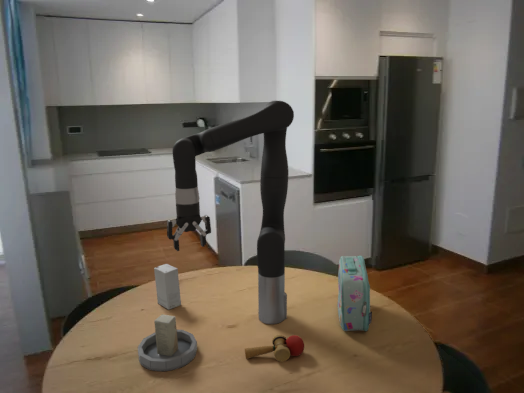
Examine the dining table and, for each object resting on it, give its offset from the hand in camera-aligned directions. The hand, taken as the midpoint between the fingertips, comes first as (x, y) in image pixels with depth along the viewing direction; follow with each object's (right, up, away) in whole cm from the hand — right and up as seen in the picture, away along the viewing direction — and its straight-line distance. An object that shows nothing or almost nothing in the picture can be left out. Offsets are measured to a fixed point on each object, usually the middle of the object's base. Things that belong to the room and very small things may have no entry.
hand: (190, 248), depth 137 cm
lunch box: (+56, -26, +9) cm, 62 cm away
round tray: (-5, -31, -11) cm, 33 cm away
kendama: (+28, -31, -12) cm, 43 cm away
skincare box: (-12, -24, +21) cm, 34 cm away
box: (-5, -30, -11) cm, 33 cm away
